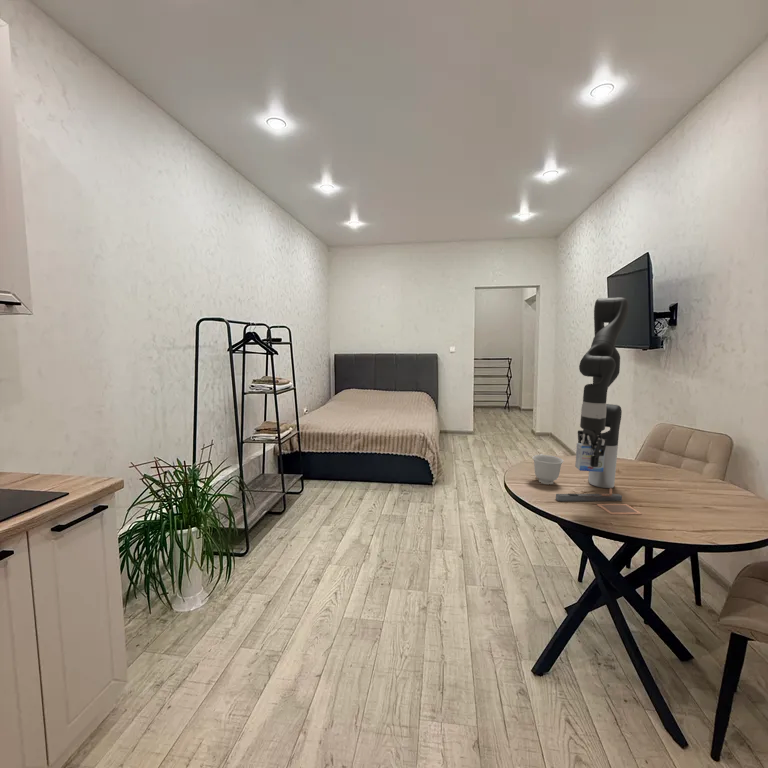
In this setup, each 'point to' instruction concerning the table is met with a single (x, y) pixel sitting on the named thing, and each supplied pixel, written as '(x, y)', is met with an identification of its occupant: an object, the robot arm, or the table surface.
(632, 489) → the table surface
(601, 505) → the pad
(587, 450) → the medicine box
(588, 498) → the rail
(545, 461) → the teacup
